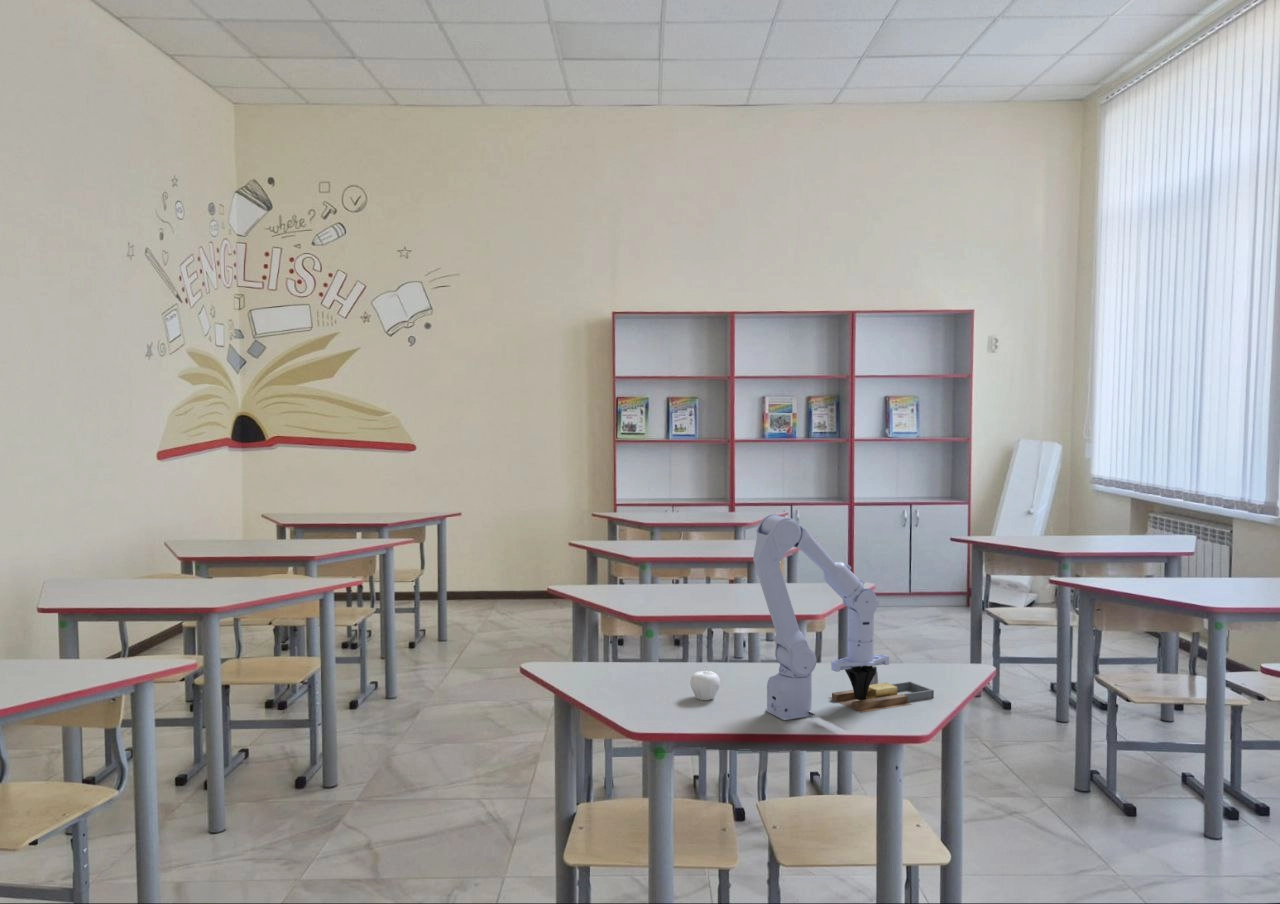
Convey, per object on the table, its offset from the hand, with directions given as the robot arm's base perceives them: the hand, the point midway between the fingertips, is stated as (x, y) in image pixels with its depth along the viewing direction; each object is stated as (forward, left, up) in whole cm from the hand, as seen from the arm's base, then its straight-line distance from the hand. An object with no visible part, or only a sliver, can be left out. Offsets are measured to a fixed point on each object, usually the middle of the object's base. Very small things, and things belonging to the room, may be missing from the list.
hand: (860, 699), depth 211 cm
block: (+6, 0, -1) cm, 6 cm away
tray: (+14, 0, -2) cm, 14 cm away
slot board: (+3, 0, -2) cm, 3 cm away
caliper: (+15, +17, -2) cm, 23 cm away
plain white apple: (-28, +21, -2) cm, 35 cm away
